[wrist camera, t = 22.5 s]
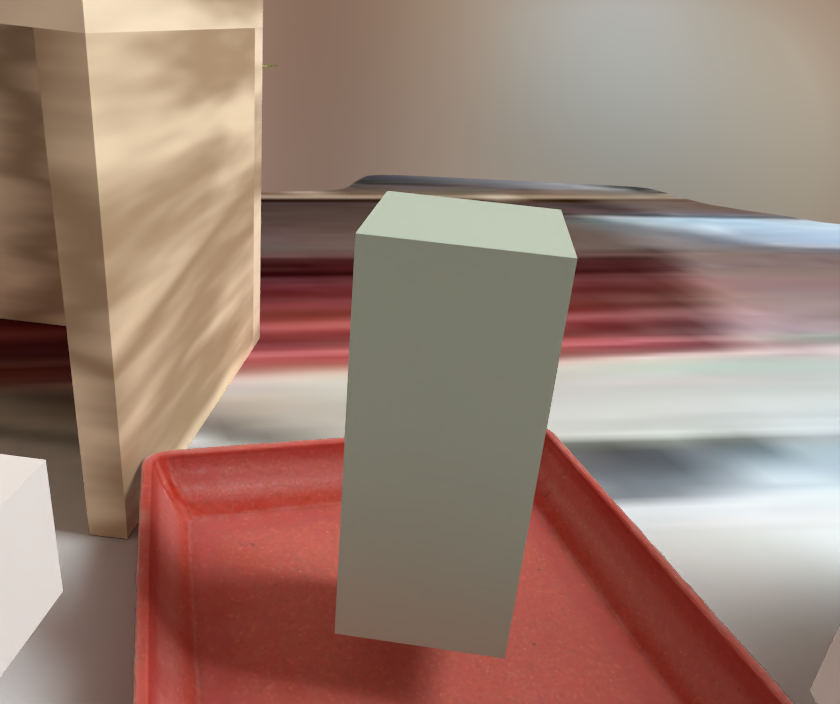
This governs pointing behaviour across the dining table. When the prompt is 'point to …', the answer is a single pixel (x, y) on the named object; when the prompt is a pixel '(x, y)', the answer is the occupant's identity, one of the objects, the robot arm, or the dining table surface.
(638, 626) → the plant saucer
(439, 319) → the tall block
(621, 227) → the dining table surface
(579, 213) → the dining table surface
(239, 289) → the cubby box
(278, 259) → the dining table surface
